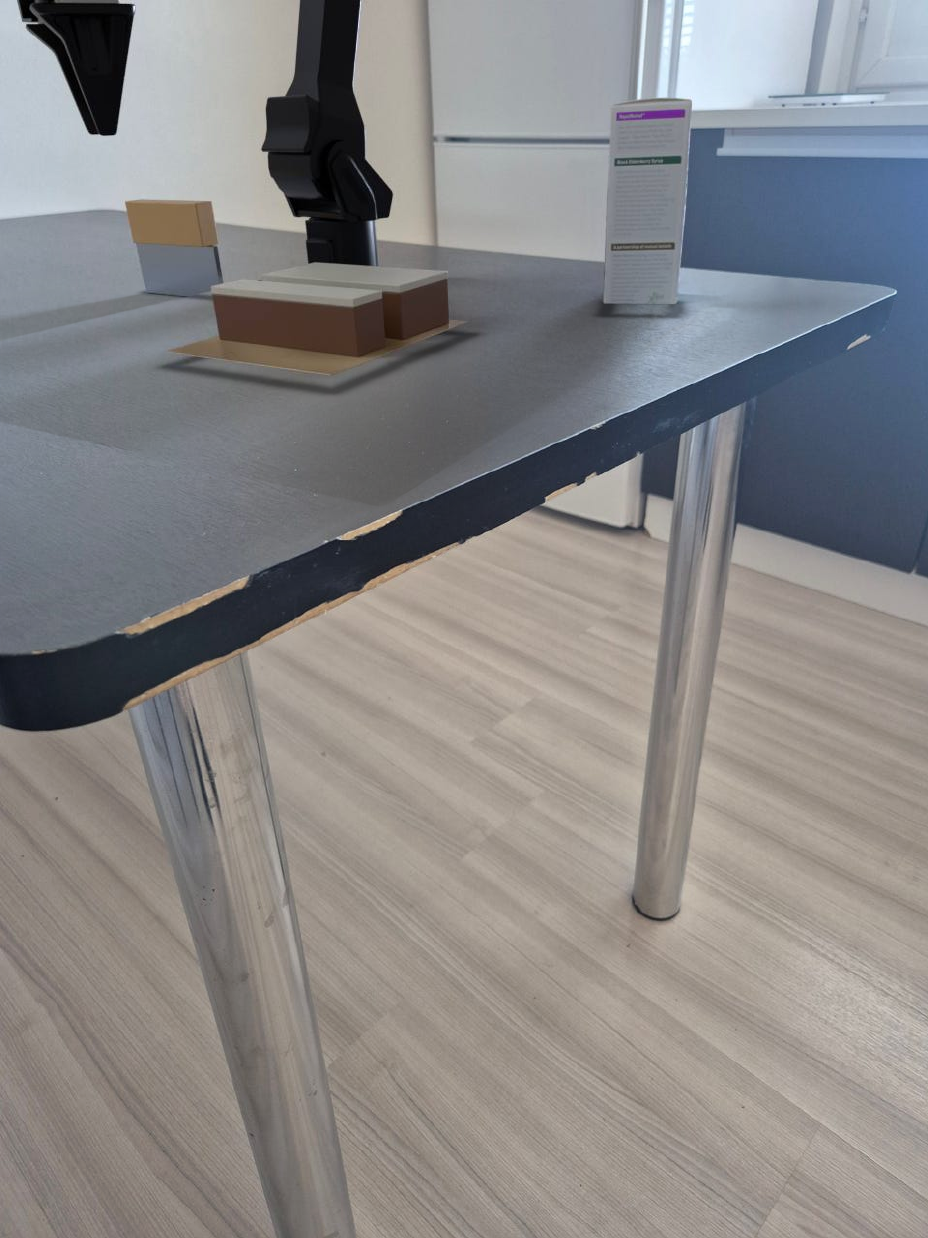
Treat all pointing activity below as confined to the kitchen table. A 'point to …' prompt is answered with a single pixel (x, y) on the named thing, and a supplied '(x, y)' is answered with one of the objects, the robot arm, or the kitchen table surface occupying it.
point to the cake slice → (300, 316)
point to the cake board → (297, 353)
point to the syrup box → (646, 200)
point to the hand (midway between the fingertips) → (101, 134)
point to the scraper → (176, 245)
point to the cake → (384, 292)
